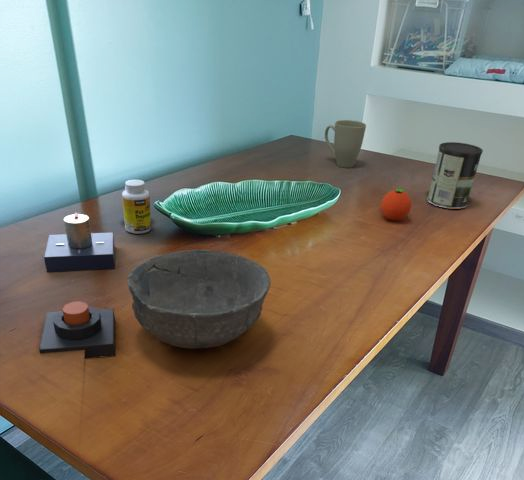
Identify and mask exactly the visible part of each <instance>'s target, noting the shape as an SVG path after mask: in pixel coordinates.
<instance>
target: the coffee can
mask: <svg viewBox="0 0 524 480" xmlns="http://www.w3.org/2000/svg"><path fill="white" fill-rule="evenodd" d="M483 151H484V150H483V148H481V147H480V146H477V145H475V144H471V143H470V144H469V143H464V142H455V141H454V142H453V141H449V142H442V143H440V144H439V146H438V152H437V156H436V157H437V158H436V162H435V166H434V169H433V173H432V174H433V175H432V178H431V183H430V188H429V191H428V196H427V199H426V201H427V200H428V201H427V203H428V202H429V203H431V204H433V205H435V206H439V207H444V208H463V207H466V206H467V207H468V203H469V200H470V195H471V192H472V189H473V185H474V182H475V178H476V174H477V171H478V168H479V164H480V161H481V157H482V154H483ZM429 203H428V204H429ZM431 204H430V205H431ZM433 205H432V206H433ZM435 206H434V207H435ZM467 207H466V208H467Z"/></svg>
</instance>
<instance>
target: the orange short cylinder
mask: <svg viewBox="0 0 524 480" xmlns="http://www.w3.org/2000/svg"><path fill="white" fill-rule="evenodd" d="M88 307H89V305H88V304H87V303H86V302H84V301H70V302H68V303H65V304H64V305H63V306H62V309H61V310H62V311H63V316H64V321H65V323H66V324H69V325H80V324H83V323H86V322H88V321H89V320H90V314H89V308H88Z"/></svg>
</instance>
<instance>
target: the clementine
mask: <svg viewBox="0 0 524 480" xmlns="http://www.w3.org/2000/svg"><path fill="white" fill-rule="evenodd" d="M380 203H381V204H380V210H381V213H382V214H383V216H384V217H385V218H386V219H389V220H390V219H391V220H390V221H400V220H403V219H404V218H405V217H408V214H409V213H410V211H411V208H412V200H411V197H410V195H408V194H407V192H406V191H404V189H401V188H400V189H399V188H398V189H393V190H390V191H389V192H387V193H386V194H385V195H384V196H383V198H382V200H381V202H380Z"/></svg>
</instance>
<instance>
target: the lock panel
mask: <svg viewBox="0 0 524 480" xmlns="http://www.w3.org/2000/svg"><path fill="white" fill-rule="evenodd" d="M91 237H92V245H91V246H89V247H86V248H81V249H76V248H71V247H69V246H68V242H67V236H66V233H64V234H63V233H62V234H49V235H48V239H47V243H46V248H45V252H44V256H43V259H44V260H43V261H44V265H45V270H46V273H55V272H76V271H93V270H97V271H98V270H114V269H116V268H115V267H116V245H115V237H114V232H91Z"/></svg>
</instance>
